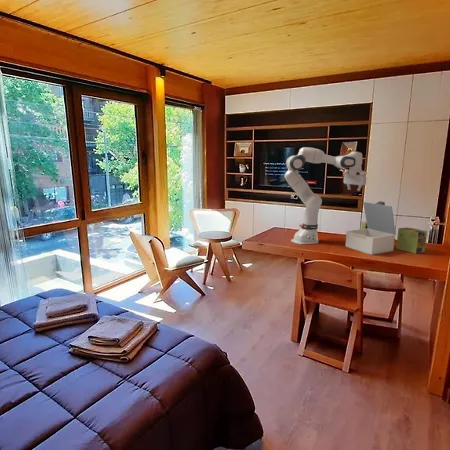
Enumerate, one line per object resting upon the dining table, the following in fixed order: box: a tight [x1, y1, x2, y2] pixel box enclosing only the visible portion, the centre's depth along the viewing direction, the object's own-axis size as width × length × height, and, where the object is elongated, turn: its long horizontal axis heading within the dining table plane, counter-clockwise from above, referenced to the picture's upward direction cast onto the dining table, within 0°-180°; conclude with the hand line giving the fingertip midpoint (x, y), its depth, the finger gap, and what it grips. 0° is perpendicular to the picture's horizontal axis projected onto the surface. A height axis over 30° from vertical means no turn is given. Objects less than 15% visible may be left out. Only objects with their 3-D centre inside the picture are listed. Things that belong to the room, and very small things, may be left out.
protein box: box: [395, 226, 428, 254], centre depth 236 cm, size 10×15×16 cm
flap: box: [363, 200, 397, 236], centre depth 241 cm, size 22×24×6 cm
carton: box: [345, 228, 396, 256], centre depth 240 cm, size 22×24×12 cm
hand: (353, 190), depth 256 cm, fingers open, 8 cm apart
